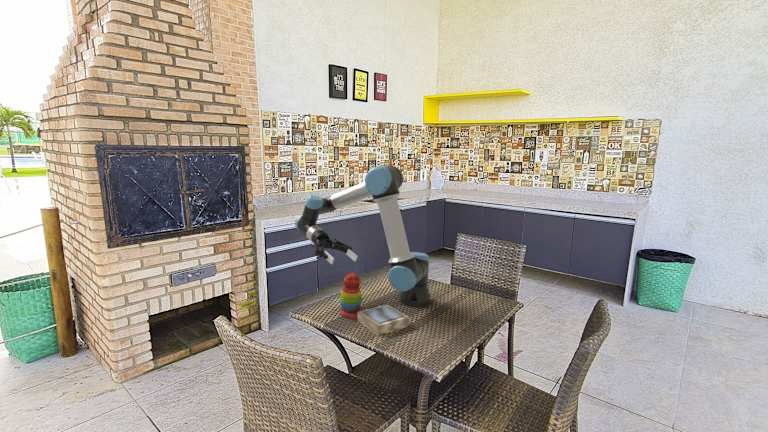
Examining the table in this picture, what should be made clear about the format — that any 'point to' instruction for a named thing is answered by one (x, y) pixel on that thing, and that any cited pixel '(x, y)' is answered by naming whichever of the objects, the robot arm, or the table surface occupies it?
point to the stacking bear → (351, 297)
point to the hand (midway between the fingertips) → (345, 260)
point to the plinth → (382, 319)
